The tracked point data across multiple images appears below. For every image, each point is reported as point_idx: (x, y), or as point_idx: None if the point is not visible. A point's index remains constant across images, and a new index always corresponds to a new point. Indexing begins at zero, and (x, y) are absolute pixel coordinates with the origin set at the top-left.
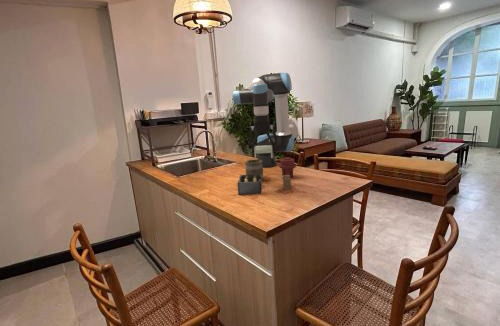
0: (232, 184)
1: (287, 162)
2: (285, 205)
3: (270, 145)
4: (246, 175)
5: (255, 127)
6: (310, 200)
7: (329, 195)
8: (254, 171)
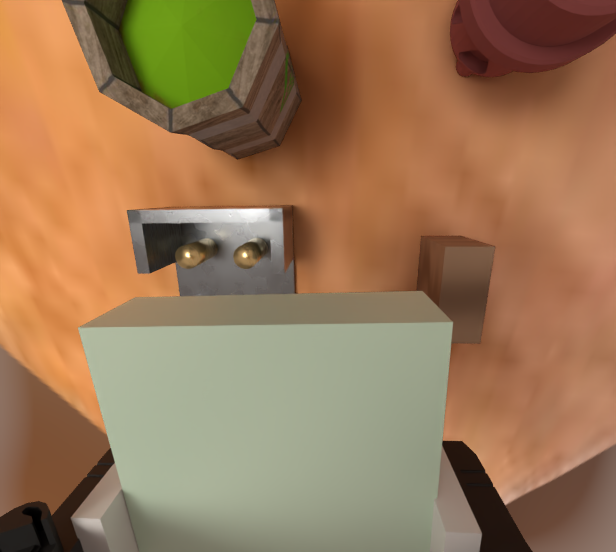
0: (112, 173)
1: (580, 23)
2: None
3: (442, 540)
4: (176, 222)
5: None
6: (501, 452)
7: (608, 412)
8: (222, 141)
